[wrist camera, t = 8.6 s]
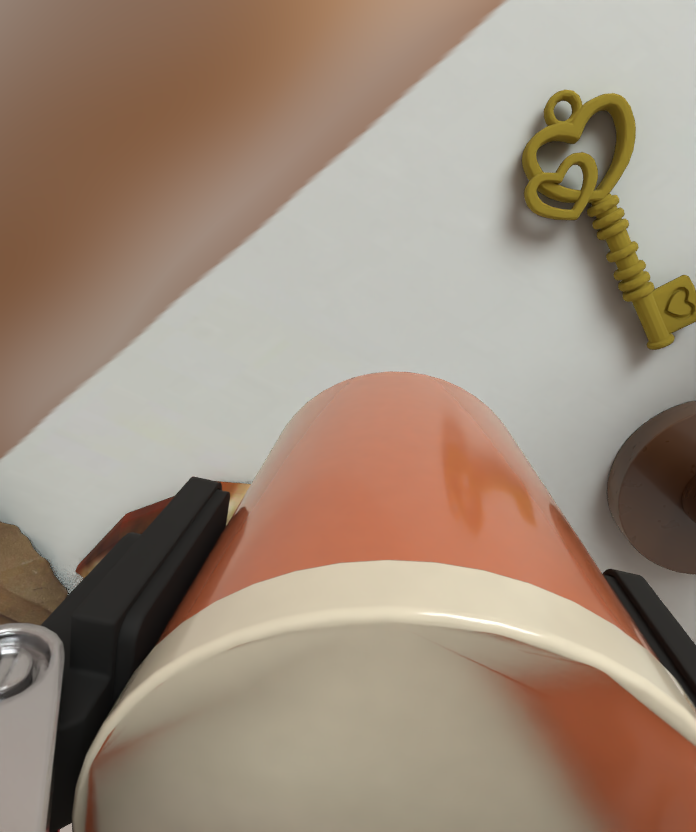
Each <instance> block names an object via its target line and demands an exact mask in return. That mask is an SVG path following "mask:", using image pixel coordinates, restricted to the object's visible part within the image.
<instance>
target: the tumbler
mask: <svg viewBox="0 0 696 832" xmlns="http://www.w3.org/2000/svg"><path fill="white" fill-rule="evenodd" d="M72 831H73V832H696V706H695V705H694V703H693V702H692V701H691V699H690V698H689V696H688V695H687V694H686V692H685V691H684V689H683V688H682V686H681V685H680V684H679V682H678V681H677V680H676V678H675V677H674V676H673V675H672V674H671V673H670V672H669V671H668V670H667V669H666V668H665V667H664V666H663V665H662V664H661V662H660V661H659V659H658V657H657V656H656V654H655V653H654V651H653V650H652V648H651V647H650V645H649V644H648V642H647V641H646V639H645V638H644V636H643V635H642V633H641V632H640V630H639V629H638V627H637V626H636V624H635V623H634V621H633V619H632V618H631V616H630V615H629V613H628V612H627V610H626V609H625V607H624V606H623V604H622V603H621V601H620V600H619V598H618V597H617V595H616V594H615V592H614V591H613V589H612V588H611V586H610V585H609V583H608V581H607V580H606V578H605V577H604V575H603V574H602V572H601V571H600V569H599V568H598V566H597V565H596V563H595V562H594V560H593V559H592V557H591V556H590V554H589V553H588V551H587V550H586V548H585V547H584V545H583V543H582V542H581V540H580V539H579V537H578V536H577V534H576V533H575V531H574V530H573V528H572V527H571V525H570V524H569V522H568V521H567V519H566V518H565V516H564V515H563V513H562V512H561V510H560V509H559V507H558V506H557V504H556V502H555V501H554V499H553V498H552V496H551V495H550V493H549V492H548V490H547V489H546V487H545V486H544V484H543V483H542V481H541V480H540V478H539V477H538V475H537V474H536V472H535V471H534V469H533V468H532V466H531V464H530V463H529V461H528V460H527V458H526V457H525V455H524V454H523V452H522V451H521V449H520V448H519V446H518V445H517V443H516V442H515V440H514V439H513V437H512V436H511V434H510V433H509V431H508V430H507V428H506V427H505V426H504V424H503V423H502V421H501V420H500V419H499V418H498V417H497V416H496V415H495V413H494V412H493V411H492V410H491V409H490V408H489V407H488V406H486V405H485V404H484V403H483V402H482V401H480V400H479V399H478V398H477V397H475V396H474V395H472V394H470V393H469V392H467V391H465V390H464V389H462V388H460V387H458V386H456V385H454V384H451V383H449V382H447V381H445V380H442V379H438V378H435V377H431V376H428V375H423V374H417V373H410V372H381V373H371V374H367V375H363V376H358V377H354V378H351V379H348V380H346V381H343V382H341V383H338V384H336V385H334V386H332V387H330V388H328V389H326V390H325V391H323V392H321V393H320V394H318V395H317V396H315V397H314V398H313V399H311V400H310V401H309V402H307V403H306V404H305V405H304V406H303V407H302V408H301V409H300V410H299V411H298V412H297V413H296V414H295V415H294V416H293V418H292V419H291V420H290V421H289V423H288V424H287V425H286V426H285V428H284V430H283V431H282V433H281V435H280V436H279V438H278V440H277V441H276V443H275V445H274V447H273V448H272V450H271V452H270V453H269V455H268V457H267V458H266V460H265V462H264V463H263V465H262V467H261V468H260V470H259V472H258V473H257V475H256V477H255V478H254V480H253V482H252V484H251V485H250V487H249V489H248V490H247V492H246V494H245V495H244V497H243V499H242V500H241V502H240V504H239V505H238V507H237V509H236V510H235V512H234V514H233V515H232V517H231V519H230V521H229V522H228V524H227V526H226V527H225V529H224V531H223V532H222V534H221V536H220V537H219V539H218V541H217V542H216V544H215V546H214V547H213V549H212V551H211V552H210V554H209V556H208V557H207V559H206V561H205V563H204V564H203V566H202V568H201V569H200V571H199V573H198V574H197V576H196V578H195V579H194V581H193V583H192V584H191V586H190V588H189V589H188V591H187V593H186V594H185V596H184V598H183V600H182V601H181V603H180V605H179V606H178V608H177V610H176V611H175V613H174V615H173V616H172V618H171V620H170V621H169V623H168V625H167V626H166V628H165V630H164V631H163V633H162V635H161V637H160V638H159V640H158V642H157V643H156V645H155V647H154V648H153V650H152V651H151V652H150V653H149V654H148V656H147V657H146V658H145V659H144V661H143V662H142V663H141V664H140V665H139V667H138V668H137V669H136V670H135V671H134V673H133V675H132V676H131V678H130V680H129V681H128V683H127V684H126V686H125V688H124V689H123V691H122V693H121V694H120V696H119V698H118V699H117V701H116V703H115V704H114V706H113V707H112V709H111V711H110V712H109V714H108V716H107V717H106V719H105V721H104V722H103V724H102V726H101V728H100V729H99V731H98V733H97V735H96V736H95V738H94V740H93V742H92V743H91V745H90V747H89V749H88V750H87V752H86V755H85V758H84V761H83V764H82V767H81V770H80V773H79V776H78V779H77V782H76V788H75V796H74V803H73V811H72Z"/></svg>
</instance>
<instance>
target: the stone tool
mask: <svg viewBox="0 0 696 832" xmlns="http://www.w3.org/2000/svg"><path fill="white" fill-rule="evenodd" d="M66 597H67V590H66V588H65V587H64V586H63V585H62V584H61V583H60V582H59V580H58V579H57V578H56V577H55V576H54V574H53V571H52V569H51V568H50V564H49V562H48V561H47V560H46V559H45V558H43V557H41V556H40V555H39V554H38V553H37V552H36V551H35V550H34V549H33V547H32V545H31V543H30V541H29V539H28V538H27V537H26V536H25V535H23V534H22V533H21V532H20V529H19V528H18V527H17V526H15V525H11V524H6V523H2V522H0V625H3V624H8V623H30V624H35V625H41V624H42V623H43V622H44V621H45V620H46V619H47V618H48V617H49V616H50V615H51V614H52V612H53V611H54V610H55V609H56V608H57V607H58V606H59V605H60V604H61V603H62V602H63V601H64V600H65V598H66Z"/></svg>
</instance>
